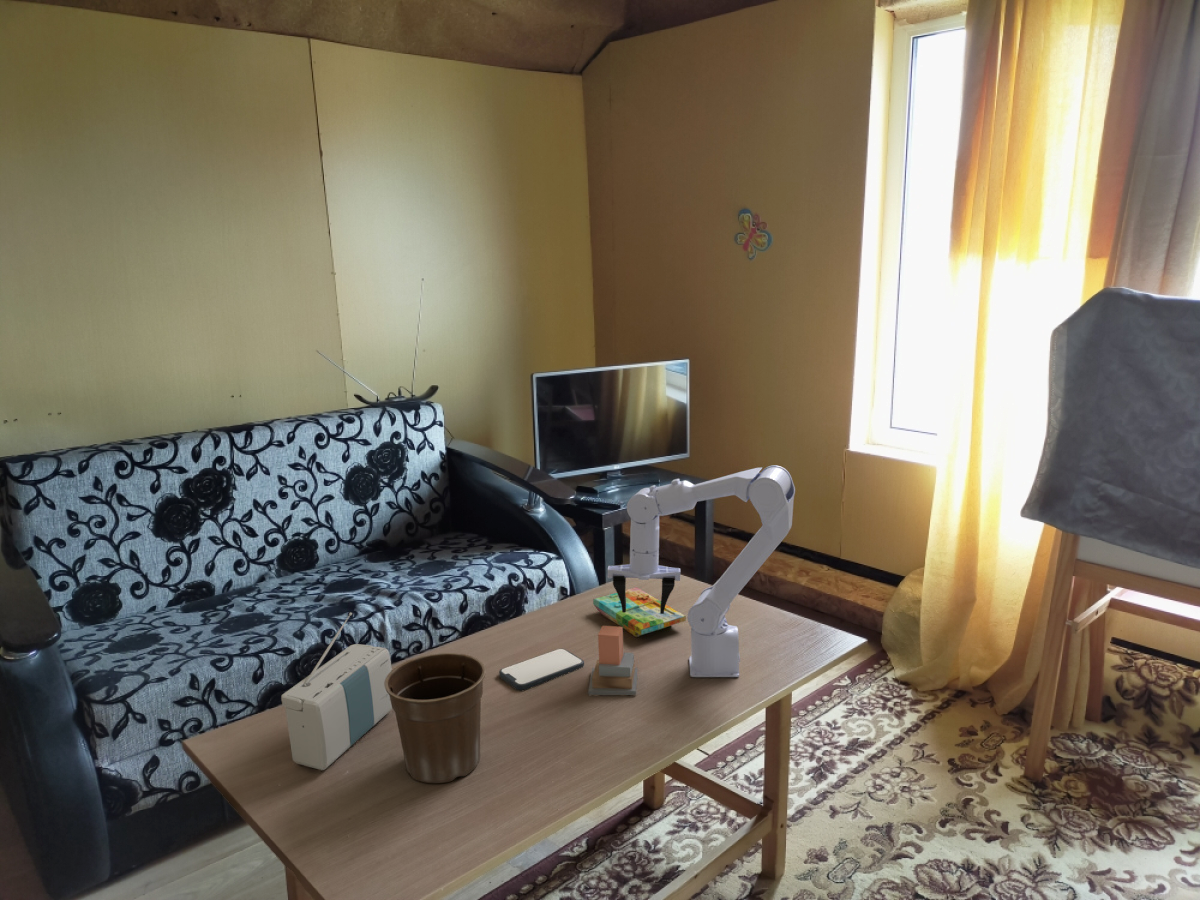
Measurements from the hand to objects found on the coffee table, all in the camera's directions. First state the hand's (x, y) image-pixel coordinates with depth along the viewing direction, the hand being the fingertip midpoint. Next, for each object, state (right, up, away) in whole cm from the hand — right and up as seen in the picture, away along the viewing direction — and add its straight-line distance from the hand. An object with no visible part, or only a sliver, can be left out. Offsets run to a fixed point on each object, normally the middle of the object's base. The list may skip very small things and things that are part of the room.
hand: (643, 611), depth 171 cm
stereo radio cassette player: (-54, -19, -22) cm, 61 cm away
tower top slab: (-5, -10, -8) cm, 14 cm away
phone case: (-20, -12, -1) cm, 24 cm away
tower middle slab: (-6, -12, -7) cm, 15 cm away
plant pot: (-35, -20, -30) cm, 50 cm away
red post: (-7, -8, -8) cm, 13 cm away
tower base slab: (-6, -14, -7) cm, 17 cm away
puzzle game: (0, -7, +19) cm, 21 cm away
